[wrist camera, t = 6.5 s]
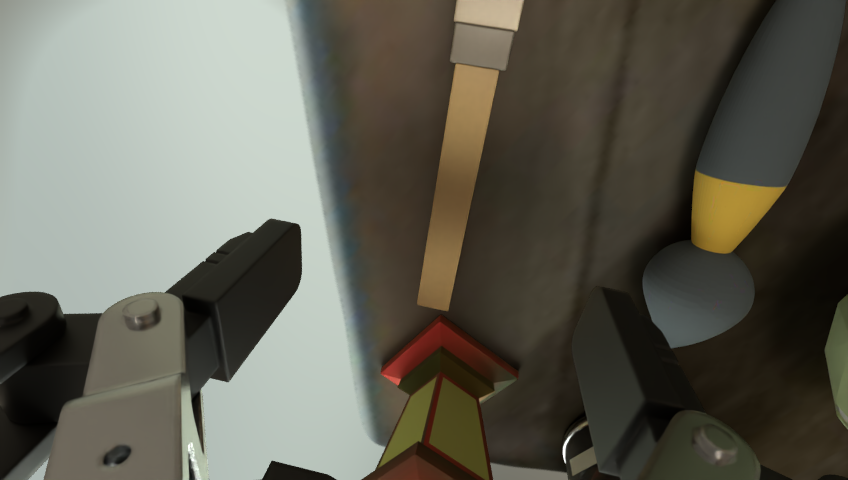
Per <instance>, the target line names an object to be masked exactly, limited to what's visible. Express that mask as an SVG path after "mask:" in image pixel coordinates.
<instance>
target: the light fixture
mask: <svg viewBox="0 0 848 480" xmlns="http://www.w3.org/2000/svg"><path fill="white" fill-rule="evenodd" d="M380 374H382V375H383V376H385V377H386V378H388V379H389V380H391V381H392V382H394V383H395V384H396V385H398V388H399V389H401V390H402V391H404V392H405V393H407V394H408V395H410V396H409V399H408V401H407V403H406V405H405V407H404V409H403V411H402V414H401V416H400V418H399V420H398V422H397V424H396V427H395V429H394V431H393V433H392V435H391V437H390V439H389V442H388V444H387V446H386V448H385V450H384V453H383V454H382V457H381V459H380V461H379V463H378V465H377V467H376V470H375V471H373V472H372V473H370V474H369V475H368V476H366V477H365V478H363V479H362V480H493V477H492V471H491V465H490V459H489V454H488V448H487V442H486V436H485V431H484V425H483V419H482V414H481V408H480V404H482V403H483V402H485V401H486V400H488V399H489V398H491V397H492V396H494V395H495V394H497V393H498V392H500V391H501V390H503V389H504V388H506V387H507V386H509V385H510V384H512V383H513V382H515V381H516V380H518V371H517V370H516V369H514V368H513V367H512V366H510V365H509V364H508V363H506V362H505V361H504V360H502V359H501V358H499V357H498V356H497V355H495V354H494V353H493V352H491V351H490V350H489V349H487V348H486V347H485V346H483V345H482V344H480V343H479V342H478V341H476V340H475V339H474V338H472V337H471V336H470V335H468V334H467V333H466V332H464V331H463V330H461V329H460V328H459V327H457V326H456V325H455V324H453V323H452V322H451V321H449V320H448V319H447V318H445V317H444V316H442V315H440V316H439V317H438V318H436V319H435V320H434V321H433V322H432V323H431V324H430V325H429V326H427V327H426V328H425V329H424V330H423V331H422V332H421V333H420V334H418V335H417V336H416V337H415V338H414V339H413V340H412V341H411V342H409V343H408V344H407V345H406V346H405V347H404V348H403V349H402V350H400V351H399V352H398V353H397V354H396V355H395V356H394V357H393V358H391V359H390V360H389V361H388V362H387V363H386V364H385V365H384V366H382V369H381V373H380Z"/></svg>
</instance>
